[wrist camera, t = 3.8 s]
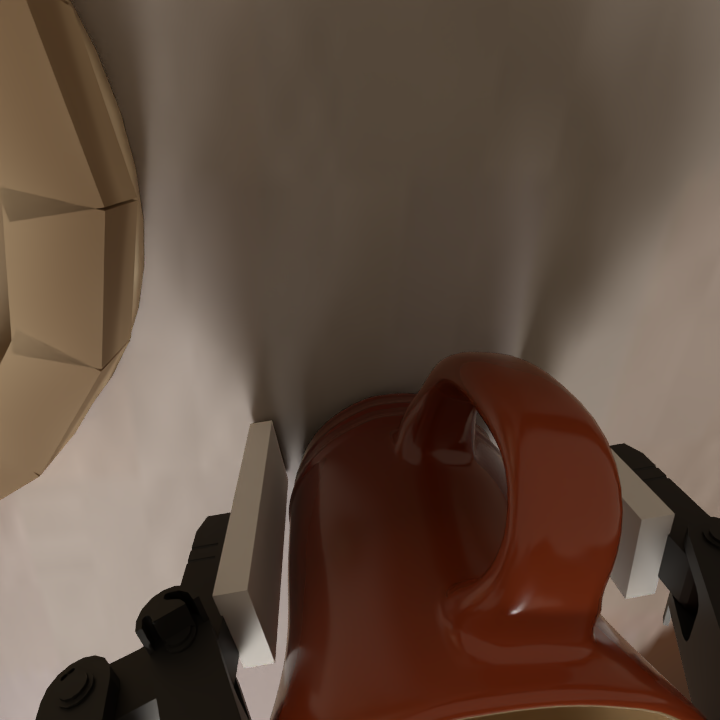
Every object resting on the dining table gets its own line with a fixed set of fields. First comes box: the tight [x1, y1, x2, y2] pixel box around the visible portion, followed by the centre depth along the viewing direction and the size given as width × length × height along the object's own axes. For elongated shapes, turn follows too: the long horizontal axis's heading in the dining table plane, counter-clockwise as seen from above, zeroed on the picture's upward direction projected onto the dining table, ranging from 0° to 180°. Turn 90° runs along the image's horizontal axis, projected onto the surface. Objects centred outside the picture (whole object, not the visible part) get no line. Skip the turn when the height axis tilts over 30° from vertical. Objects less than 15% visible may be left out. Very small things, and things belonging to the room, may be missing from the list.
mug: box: [270, 352, 708, 720], centre depth 12 cm, size 12×9×10 cm
